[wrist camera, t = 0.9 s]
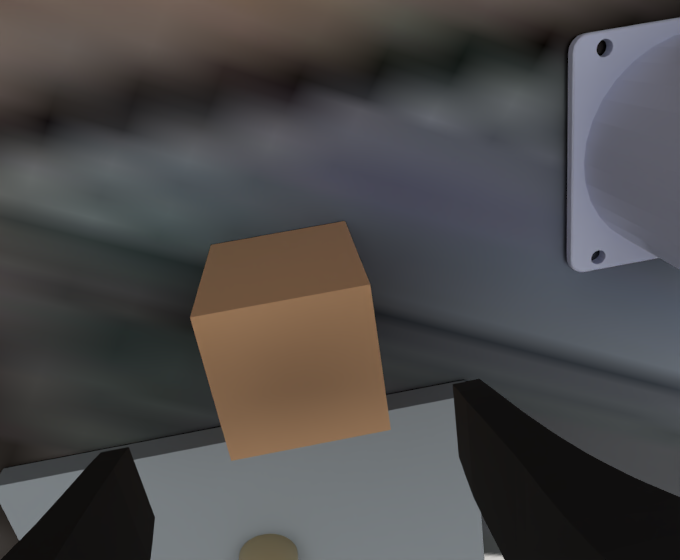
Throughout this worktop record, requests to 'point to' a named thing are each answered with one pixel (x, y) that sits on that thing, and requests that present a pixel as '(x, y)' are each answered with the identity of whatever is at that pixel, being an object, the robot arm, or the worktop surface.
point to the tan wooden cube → (290, 341)
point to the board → (293, 493)
